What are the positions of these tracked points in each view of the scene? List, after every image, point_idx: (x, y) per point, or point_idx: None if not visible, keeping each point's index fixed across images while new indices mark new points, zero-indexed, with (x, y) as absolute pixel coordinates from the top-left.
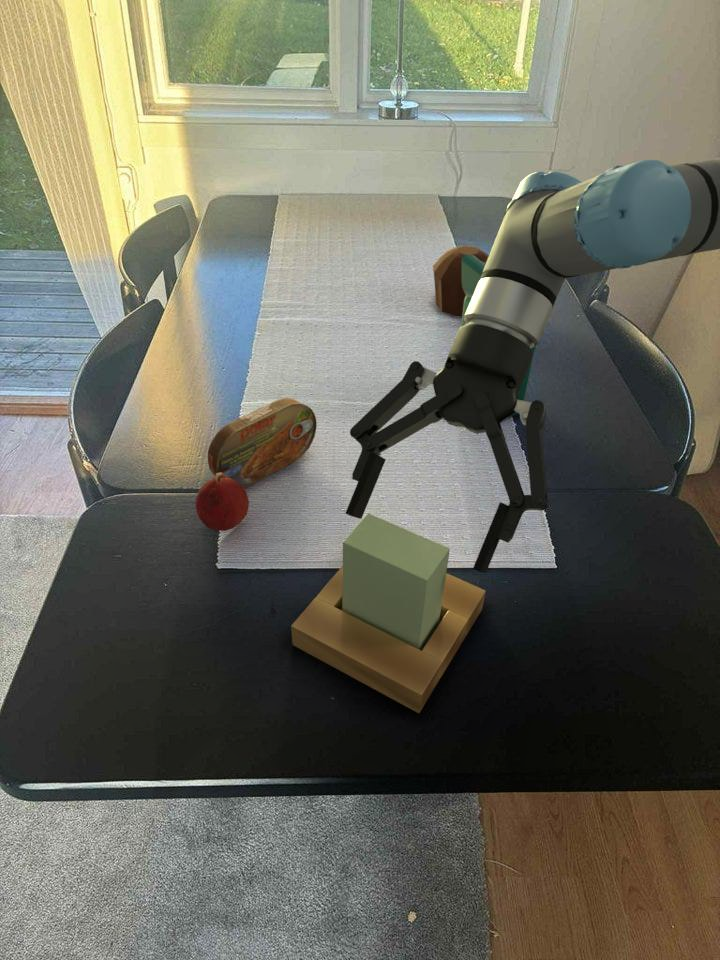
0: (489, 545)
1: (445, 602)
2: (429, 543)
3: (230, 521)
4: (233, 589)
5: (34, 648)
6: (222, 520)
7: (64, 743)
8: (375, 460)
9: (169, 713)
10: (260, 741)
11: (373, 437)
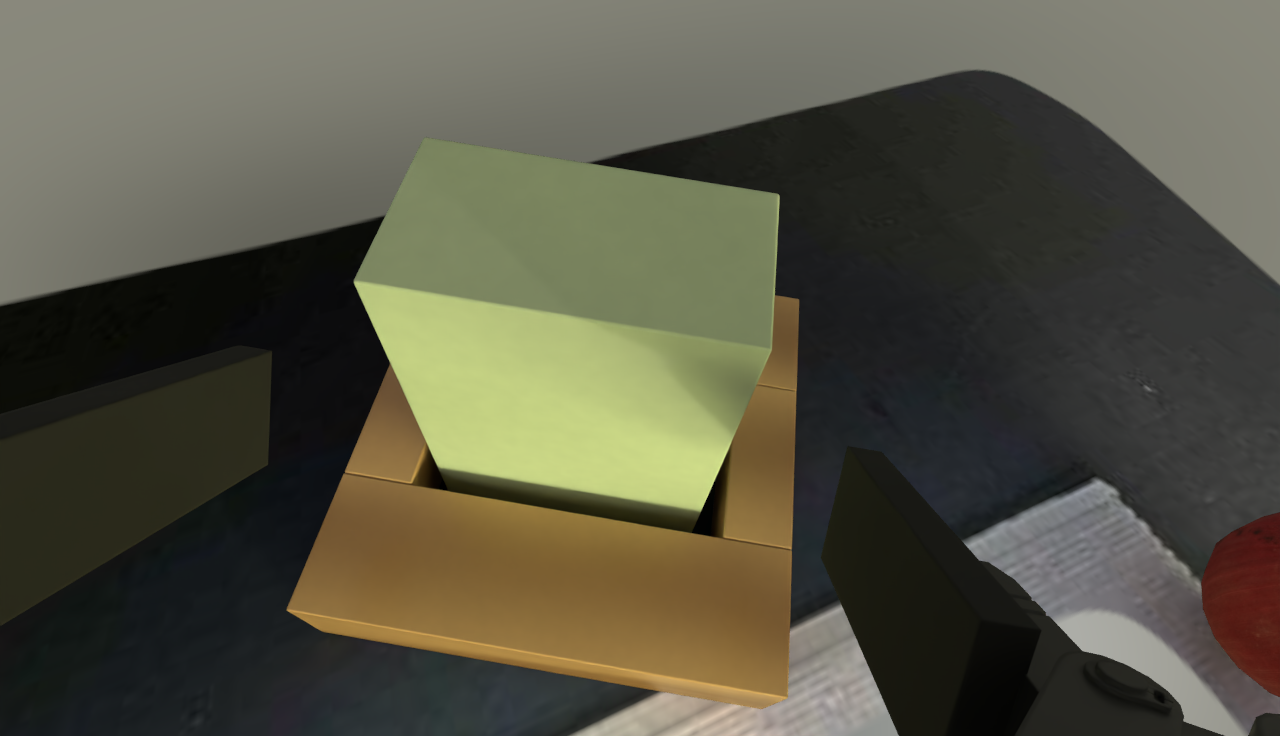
0: (159, 369)
1: (426, 507)
2: (448, 276)
3: (1227, 547)
4: (1008, 431)
5: (1181, 199)
6: (1248, 527)
7: (977, 106)
8: (956, 609)
9: (884, 172)
10: (717, 174)
11: (1144, 728)
